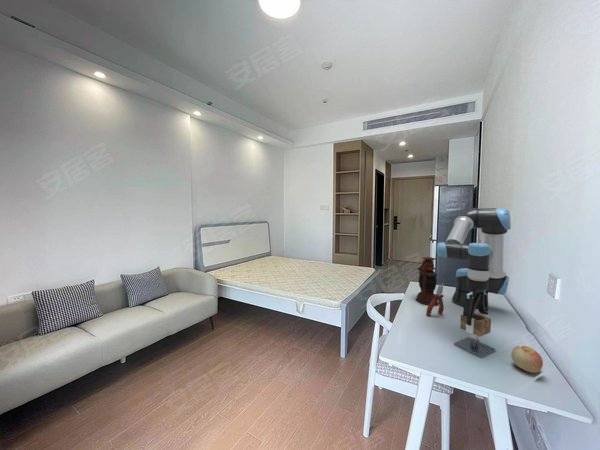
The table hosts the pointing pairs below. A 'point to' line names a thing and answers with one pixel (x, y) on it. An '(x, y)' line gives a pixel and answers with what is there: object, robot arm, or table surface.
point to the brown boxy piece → (478, 324)
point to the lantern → (427, 282)
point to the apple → (527, 359)
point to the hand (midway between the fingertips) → (475, 329)
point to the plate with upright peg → (475, 346)
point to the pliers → (436, 298)
